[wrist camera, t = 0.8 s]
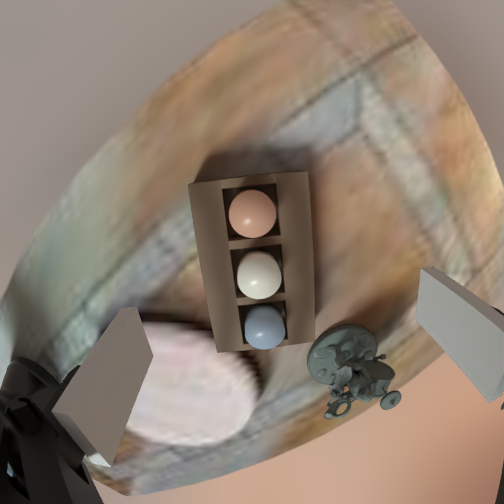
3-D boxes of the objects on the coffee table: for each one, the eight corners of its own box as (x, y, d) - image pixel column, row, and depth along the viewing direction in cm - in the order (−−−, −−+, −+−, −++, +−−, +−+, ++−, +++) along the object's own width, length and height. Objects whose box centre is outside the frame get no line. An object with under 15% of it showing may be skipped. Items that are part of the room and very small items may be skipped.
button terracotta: (232, 232, 30) (231, 240, 28) (227, 191, 29) (226, 194, 26) (274, 228, 30) (277, 235, 28) (270, 186, 29) (273, 189, 26)
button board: (219, 337, 37) (217, 352, 34) (193, 182, 31) (187, 184, 28) (309, 326, 37) (314, 341, 34) (300, 170, 31) (307, 171, 28)
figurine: (319, 320, 37) (346, 379, 26) (385, 326, 38) (424, 377, 26) (298, 379, 40) (313, 440, 29) (360, 381, 41) (385, 434, 30)
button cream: (240, 289, 32) (240, 301, 30) (235, 251, 31) (234, 261, 28) (279, 284, 32) (282, 296, 30) (276, 247, 31) (279, 255, 28)
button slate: (246, 336, 34) (247, 351, 31) (242, 305, 33) (242, 318, 30) (282, 332, 34) (286, 346, 31) (280, 301, 33) (284, 313, 30)
